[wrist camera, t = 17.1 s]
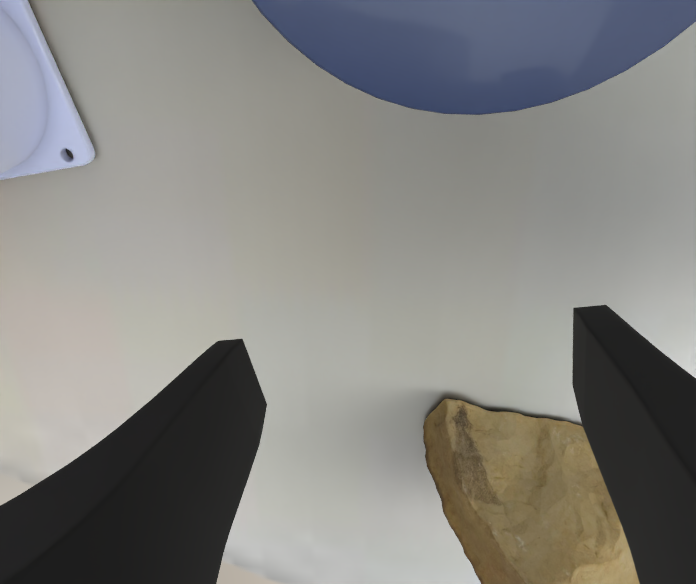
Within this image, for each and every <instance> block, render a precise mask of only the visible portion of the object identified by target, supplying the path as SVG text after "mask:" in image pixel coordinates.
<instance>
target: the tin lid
mask: <svg viewBox="0 0 696 584" xmlns="http://www.w3.org/2000/svg"><path fill="white" fill-rule="evenodd" d="M252 1H253V3H254V4H255V5H256V7H257V8H258V9H259V11H260V12H261V13H262V15H263V16H264V17H265V18H266V19H267V20H268V21H269V22H270V23H271V24H272V25H273V26H274V27H275V28H276V29H277V30H278V31H279V32H280V34H281V35H282V36H283V37H284V38H285V39H286V40H287V41H288V42H289V43H290V44H292V45H293V46H294V47H295V48H296V49H298V50H299V51H300V52H301V53H302V54H304V55H305V56H306V57H307V58H309V59H310V60H311V61H312V62H313V63H315V64H316V65H317V66H319V67H320V68H322V69H324V70H325V71H327V72H328V73H330V74H331V75H333V76H335V77H336V78H338V79H339V80H341V81H343V82H344V83H346V84H348V85H350V86H352V87H354V88H356V89H359V90H361V91H363V92H365V93H367V94H369V95H372V96H374V97H376V98H378V99H381V100H385V101H388V102H391V103H395V104H398V105H401V106H405V107H408V108H411V109H418V110H424V111H430V112H436V113H443V114H470V115H482V114H491V113H501V112H511V111H517V110H522V109H526V108H530V107H535V106H539V105H543V104H547V103H552V102H554V101H557V100H560V99H563V98H565V97H568V96H571V95H574V94H577V93H579V92H582V91H585V90H588V89H590V88H592V87H594V86H596V85H598V84H600V83H602V82H604V81H606V80H608V79H610V78H612V77H614V76H616V75H618V74H620V73H622V72H624V71H626V70H628V69H629V68H631V67H632V66H634V65H636V64H637V63H639V62H640V61H642V60H643V59H645V58H647V57H648V56H650V55H651V54H653V53H654V52H656V51H658V50H659V49H661V48H662V47H664V46H665V45H666V44H668V43H669V42H670V41H671V40H673V39H674V38H675V37H677V36H678V35H679V34H680V33H682V32H683V31H684V30H685V29H687V28H688V27H689V26H691V25H692V24H693V23H694V22H696V0H252Z"/></svg>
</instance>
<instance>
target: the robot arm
mask: <svg viewBox="0 0 696 584" xmlns="http://www.w3.org/2000/svg"><path fill="white" fill-rule="evenodd" d="M66 149H68V150H70V151H71V152H72V154H73V157H74V158H71V157H69V156H68V154H67V153H66ZM94 158H95V150H94V147H93V145H92V143H91V141H90V138H89V136H88V134H87V132H86V129H85V127H84V125H83V123H82V120H81V118H80V116H79V114H78V112H77V109H76V107H75V105H74V103H73V100H72V98H71V96H70V94H69V91H68V89H67V87H66V85H65V82H64V80H63V78H62V76H61V74H60V71H59V69H58V67H57V65H56V62H55V60H54V58H53V56H52V53H51V51H50V49H49V47H48V44H47V42H46V40H45V38H44V36H43V33H42V31H41V29H40V27H39V24H38V22H37V20H36V18H35V15H34V13H33V11H32V9H31V7H30V4H29V2H28V0H0V180H3V179H9V178H15V177H20V176H26V175H32V174H37V173H43V172H49V171H55V170H60V169H66V168H72V167H77V166H83V165H86V164H88V163H90V162H92V161H93V159H94ZM573 388H574V393H575V397H576V401H577V405H578V409H579V413H580V417H581V421H582V424H583V428H584V431H585V433H586V436H587V439H588V441H589V444H590V446H591V449H592V452H593V454H594V457H595V459H596V462H597V464H598V467H599V470H600V472H601V475H602V477H603V480H604V482H605V485H606V487H607V490H608V492H609V495H610V497H611V500H612V502H613V505H614V508H615V510H616V513H617V515H618V518H619V520H620V523H621V525H622V528H623V531H624V534H625V537H626V540H627V542H628V545H629V548H630V551H631V555H632V558H633V562H634V565H635V569H636V572H637V576H638V580H639V583H640V584H696V378H694V377H693V376H692V375H690V374H689V373H688V372H686V371H685V370H684V369H682V368H681V367H680V366H679V365H677V364H676V363H675V362H673V361H672V360H671V359H670V358H668V357H667V356H666V355H665V354H663V353H662V352H661V351H660V350H658V349H657V348H656V347H655V346H653V345H652V344H651V343H650V342H649V341H648V340H646V339H645V338H644V337H643V336H642V335H640V334H639V333H638V332H637V331H636V330H635V329H633V328H632V327H631V326H630V325H629V324H628V323H627V322H625V321H624V320H623V319H622V318H621V317H620V316H618V315H617V314H616V313H615V312H614V311H613V310H611V309H610V308H609V307H608V306H607V305H601V306H590V307H579V308H574V317H573ZM266 407H267V403H266V401H265V398H264V395H263V393H262V390H261V387H260V385H259V382H258V379H257V377H256V374H255V371H254V369H253V366H252V363H251V361H250V358H249V355H248V353H247V350H246V347H245V345H244V342H243V339H235V340H224V341H218V342H216V343H215V344H214V345H212V346H211V347H210V348H209V349H207V350H206V351H205V352H204V353H203V354H202V355H201V356H199V357H198V358H197V359H196V360H195V361H194V362H193V363H192V364H191V365H189V366H188V367H187V368H186V369H185V370H184V371H183V372H182V373H181V374H180V375H178V376H177V377H176V378H175V379H174V380H173V381H172V382H171V383H170V384H168V385H167V386H166V387H165V388H164V389H163V390H162V391H161V392H160V393H158V394H157V395H156V396H155V397H154V398H153V399H152V400H151V401H149V402H148V403H147V404H146V405H145V406H143V407H142V408H141V409H140V410H139V411H137V412H136V413H135V414H134V415H133V416H131V417H130V418H129V419H128V420H127V421H125V422H124V423H123V424H122V425H121V426H119V427H118V428H117V429H116V430H115V431H113V432H112V433H111V434H109V435H108V436H107V437H105V438H104V439H103V440H102V441H100V442H99V443H98V444H96V445H95V446H93V447H92V448H91V449H89V450H88V451H86V452H85V453H84V454H82V455H81V456H79V457H78V458H77V459H75V460H74V461H72V462H71V463H69V464H68V465H66V466H65V467H63V468H62V469H60V470H59V471H57V472H55V473H54V474H52V475H51V476H49V477H47V478H46V479H44V480H43V481H41V482H39V483H38V484H36V485H35V486H33V487H31V488H30V489H28V490H27V491H25V492H24V493H22V494H20V495H18V496H17V497H15V498H13V499H12V500H10V501H8V502H7V503H5V504H3V505H1V506H0V584H216V582H217V578H218V573H219V569H220V565H221V560H222V556H223V552H224V549H225V545H226V542H227V539H228V535H229V532H230V529H231V526H232V523H233V520H234V517H235V515H236V512H237V509H238V506H239V503H240V500H241V497H242V494H243V491H244V488H245V486H246V483H247V480H248V477H249V474H250V471H251V468H252V465H253V462H254V459H255V456H256V453H257V450H258V447H259V443H260V439H261V434H262V429H263V424H264V418H265V412H266Z"/></svg>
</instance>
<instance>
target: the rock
mask: <svg viewBox="0 0 696 584" xmlns="http://www.w3.org/2000/svg"><path fill="white" fill-rule="evenodd" d="M423 429H424V444H425V448H426V455H425V458H426V463H427V467H428V469H429V471H430V473H431V475H432V477H433V480H434V482H435V485H436V489H437V491H438V493H439V495H440V498H441V501H442V508H443V512H444V514H445V516H446V518H447V520H448V522H449V525H450V526H451V528H452V529H453V531H454V532H455V534H456V536H457V538H458V539H459V541H460V543H461V545H462V547H463V550H464V553H465V555H466V556H467V558H468V559H469V561H470V562H471V564H472V566H473V568H474V571H475V573H476V575H477V577H478V578H479V580H480V582H481V584H640V583H639V580H638V576H637V572H636V569H635V565H634V562H633V558H632V555H631V551H630V548H629V545H628V542H627V540H626V537H625V534H624V531H623V528H622V525H621V523H620V520H619V518H618V515H617V513H616V510H615V508H614V505H613V502H612V500H611V497H610V495H609V492H608V490H607V487H606V485H605V482H604V480H603V477H602V475H601V472H600V470H599V467H598V464H597V462H596V459H595V457H594V454H593V452H592V449H591V446H590V444H589V441H588V439H587V436H586V433H585V431H584V428H583V426H579V425H576V424H572V423H570V422H567V421H556V420H552V419H549V418H534V417H529V416H523V415H521V414H520V413H512V412H505V411H502V412H494V411H487V410H484V409H482V408H480V407H478V406H476V405H471V404H468V403H466V402H465V401H461V400H453V399H444V400H443V401H442V402H441V403H440V404H439V405H438V406H437V408H436V409H435V410H434V411H432V412H431V413H430V414H429V415H428V417H427V419H426V420H425V422H424V427H423Z"/></svg>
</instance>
